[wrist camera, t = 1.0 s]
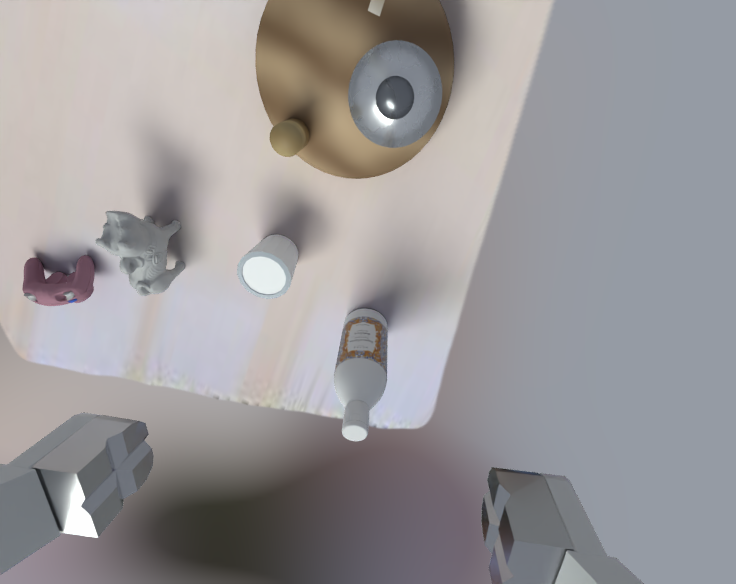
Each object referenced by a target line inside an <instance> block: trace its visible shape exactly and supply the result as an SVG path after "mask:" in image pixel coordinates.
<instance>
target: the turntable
mask: <svg viewBox="0 0 736 584" xmlns="http://www.w3.org/2000/svg"><path fill="white" fill-rule="evenodd" d="M393 40H402V41H407V42H410V43H413V44H415V45H417V46H419V47H420V48H422V49H423V50H424V51H425V52H427V54H428V55H429V56H430V57H431V58H432V60H433V61H434V63H435V65H436V67H437V68H438V71H439V74H440V78H441V82H442V102H441V106H440V110H439V113H438V116H437V118H436V120H435V122H434V124H433V125H432V127H431V128H430V129H429V131H428V132H427V133H426V134H425V135H424V136H423V137H422V138H420V139H419V140H417V141H416V142H414V143H412V144H410V145H407V146H404V147H398V148H388V147H383V146H380V145H377V144H375V143H373V142H372V141H370V140H369V139H367V138H366V137H365V136H364V135H363V134H362V133H361V132H360V131H359V129H358V128H357V126H356V125H355V123H354V121H353V119H352V116H351V113H350V108H349V102H348V90H349V83H350V79H351V76H352V73H353V71H354V69H355V67H356V65H357V64H358V62H359V61H360V59H361V58H362V57H363V56H364V55H365V54H366V53H367V52H368V51H369V50H370V49H372V48H373V47H375V46H376V45H379V44H381V43H383V42H387V41H393ZM256 74H257V82H258V86H259V91H260V95H261V98H262V101H263V104H264V107H265V110H266V112H267V114H268V117H269V119H270V121H271V123H272V124H273V126H274V127H273V128H272V130H271V133H270V142H271V145H272V147H273V149H274V150H275V151H276V152H277V153H278V154H280V155H282V156H285V157H291V156H294V155H295V154H296V155H298V156H299V157H300V158H301V159H302V160H304V161H305V162H307V163H308V164H310V165H311V166H313V167H314V168H317V169H319V170H321V171H323V172H325V173H328V174H331V175H334V176H338V177H344V178H355V179H360V178H370V177H375V176H379V175H382V174H385V173H388V172H391V171H393V170H395V169H396V168H398V167H400V166H402V165H403V164H405V163H406V162H408V161H409V160H411V159H412V158H413V157H414V156H415V155H416V154H417V153H418V152H420V151H421V149H422V148H423V147H424V146H425V145H426V144H427V143H428V141H429V140H430V138H431V137H432V136H433V134H434V133H435V131H436V129H437V128H438V126H439V124H440V122H441V120H442V118H443V115H444V113H445V110H446V108H447V105H448V101H449V97H450V94H451V89H452V83H453V76H454V52H453V42H452V37H451V32H450V27H449V24H448V21H447V18H446V15H445V12H444V10H443V8H442V5H441V3H440V1H439V0H268V2H267V4H266V7H265V10H264V12H263V15H262V18H261V21H260V26H259V30H258V34H257V43H256Z"/></svg>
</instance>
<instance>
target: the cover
mask: <svg viewBox="0 0 736 584" xmlns="http://www.w3.org/2000/svg"><path fill="white" fill-rule="evenodd" d="M348 102H349V108H350V113H351V116H352V119H353V121H354V123H355V125H356V126H357V128H358V129H359V131H360V132H361V133H362V134H363V135H364V136H365V137H366V138H367V139H369V140H370V141H372V142H373V143H375V144H377V145H380V146H383V147H388V148H398V147H404V146H407V145H410V144H412V143H414V142H416V141H417V140H419V139H420V138H422V137H423V136H424V135H425V134H426V133H427V132H428V131H429V129H430V128H431V127H432V125H433V124H434V122H435V120H436V118H437V116H438V113H439V110H440V106H441V102H442V82H441V78H440V74H439V71H438V68H437V67H436V65H435V63H434V61H433V60H432V58H431V57H430V56H429V55H428V54H427V52H425V51H424V50H423V49H422V48H420V47H419V46H417V45H415V44H413V43H410V42H407V41H402V40H393V41H387V42H383V43H381V44H379V45H376V46H375V47H373V48H372V49H370V50H369V51H368V52H367V53H366V54H365V55H364V56H363V57H362V58H361V59H360V61H359V62H358V64H357V65H356V67H355V69H354V71H353V73H352V76H351V79H350V83H349V90H348Z"/></svg>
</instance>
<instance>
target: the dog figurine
mask: <svg viewBox="0 0 736 584" xmlns="http://www.w3.org/2000/svg"><path fill="white" fill-rule="evenodd" d="M106 215H107V223H105V225H104V226H103V229H104V230H103V235H102V237H101V239H100V238H98V239H96V244H97V245H98V246H100V247H103V248H105V249H106V250H107V251H108V252H110V253H111V254H113V255H116V256H119V257H120V258H121V261H120V270H121V272H122V273H124V274H129V282H130V285H131V286H132V287H133V288H134V289H136V291H137V293H138V294H139V295H141V296H146V295H149V294H159V293H162V292H164V291H165V290H167V288H168V287H169V285H170V284H171V282H172V281H173V280H174V279H175V277H176V276H178V275H179V274H180V273H181V272H182V271H183V270H184V269H185V265H184V263H183V262H179V261H177V262H176V263H175V268H174V269H172V270H167V269H166V265H167V253H168V251H167V246H168V243H169V238H170V237H171V236H172V235H173V234H174V233H175V232H177V231H178V230H179V229H180V228H181V225H180V223H179V222H178V221H176V220H173V221H172V223H171V224H170V225H167V226H163V227H157V226H156V225H155V224H154V221H153V219H152V218H151V217H149V216H145V218H144V220H143V219H139V218H138V217H136V216H134V215H132V214H130V213H127V212H120V211H107V212H106Z"/></svg>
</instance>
